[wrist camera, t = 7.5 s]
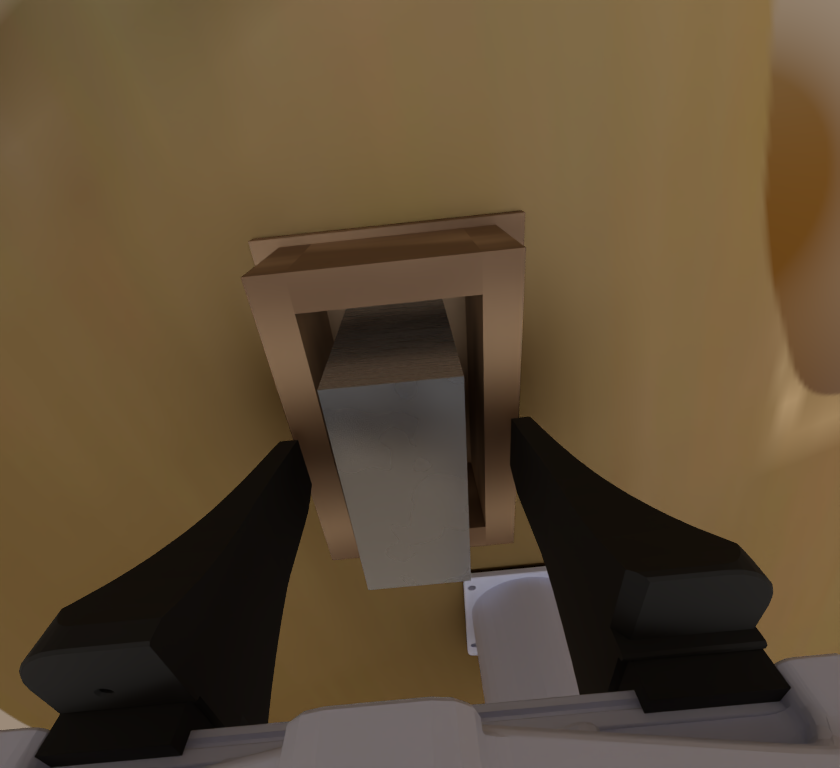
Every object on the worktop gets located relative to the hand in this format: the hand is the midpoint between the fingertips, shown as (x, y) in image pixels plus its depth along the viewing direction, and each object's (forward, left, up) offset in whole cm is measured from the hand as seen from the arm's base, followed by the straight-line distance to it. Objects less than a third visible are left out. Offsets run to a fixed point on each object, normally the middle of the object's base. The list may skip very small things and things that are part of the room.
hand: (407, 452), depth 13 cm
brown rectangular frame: (0, 0, -5) cm, 5 cm away
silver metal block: (0, 0, -5) cm, 5 cm away
